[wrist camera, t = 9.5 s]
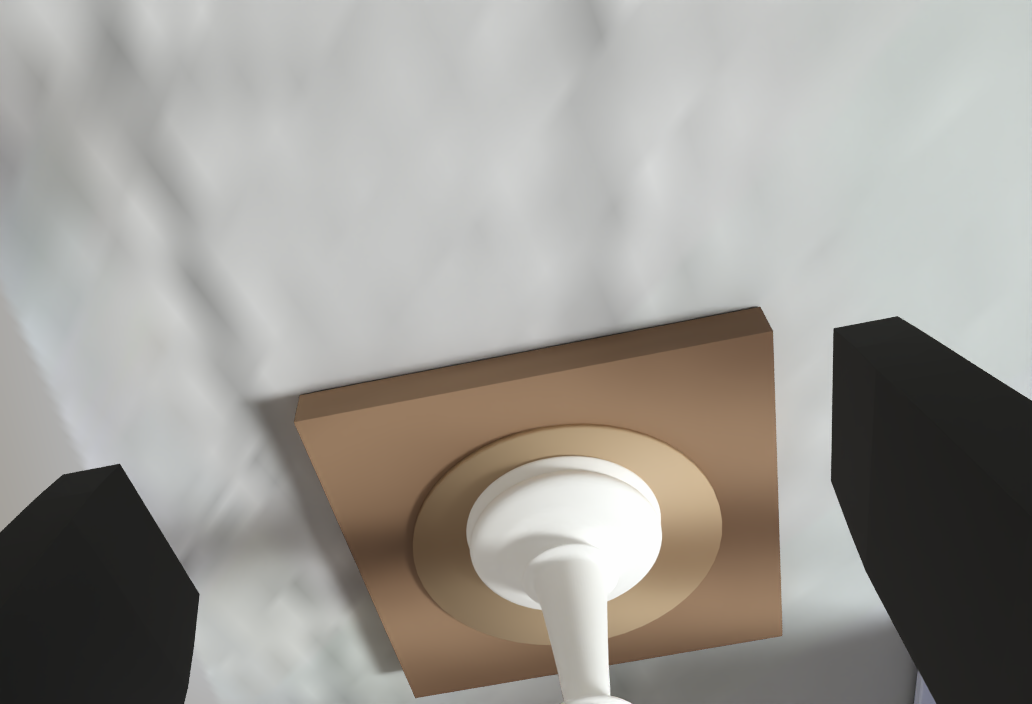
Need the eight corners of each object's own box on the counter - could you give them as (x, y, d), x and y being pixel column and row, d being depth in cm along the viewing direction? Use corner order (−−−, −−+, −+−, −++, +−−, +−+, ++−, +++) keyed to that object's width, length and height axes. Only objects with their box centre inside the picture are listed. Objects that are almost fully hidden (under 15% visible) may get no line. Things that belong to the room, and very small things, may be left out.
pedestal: (772, 608, 27) (784, 641, 26) (416, 669, 28) (415, 704, 27) (760, 306, 21) (775, 336, 20) (299, 395, 22) (292, 427, 21)
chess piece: (519, 614, 25) (553, 1055, 17) (430, 501, 22) (419, 960, 14) (687, 551, 24) (811, 989, 16) (615, 425, 21) (719, 875, 13)
